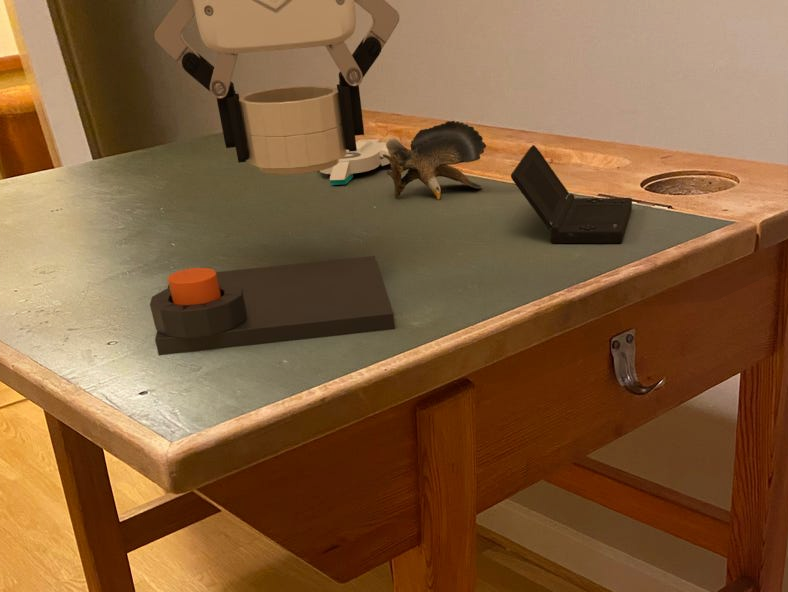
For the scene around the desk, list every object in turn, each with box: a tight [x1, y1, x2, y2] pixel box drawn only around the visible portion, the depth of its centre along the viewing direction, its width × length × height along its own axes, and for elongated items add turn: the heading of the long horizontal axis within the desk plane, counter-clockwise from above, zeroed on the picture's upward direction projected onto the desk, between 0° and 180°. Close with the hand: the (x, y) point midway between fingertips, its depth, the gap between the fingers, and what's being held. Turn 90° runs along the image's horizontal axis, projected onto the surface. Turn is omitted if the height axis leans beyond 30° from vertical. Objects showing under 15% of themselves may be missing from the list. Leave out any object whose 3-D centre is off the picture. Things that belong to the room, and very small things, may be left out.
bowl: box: [239, 85, 347, 176], centre depth 71 cm, size 7×7×4 cm
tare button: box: [167, 267, 221, 305], centre depth 68 cm, size 3×3×2 cm
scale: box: [149, 255, 396, 356], centre depth 74 cm, size 16×15×3 cm
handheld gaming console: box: [510, 144, 633, 245], centre depth 87 cm, size 12×7×10 cm
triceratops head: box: [383, 120, 487, 201], centre depth 99 cm, size 8×7×9 cm
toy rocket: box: [319, 138, 391, 186], centre depth 111 cm, size 16×10×2 cm, turn 172°
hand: (297, 150), depth 71 cm, fingers closed on bowl, 6 cm apart
